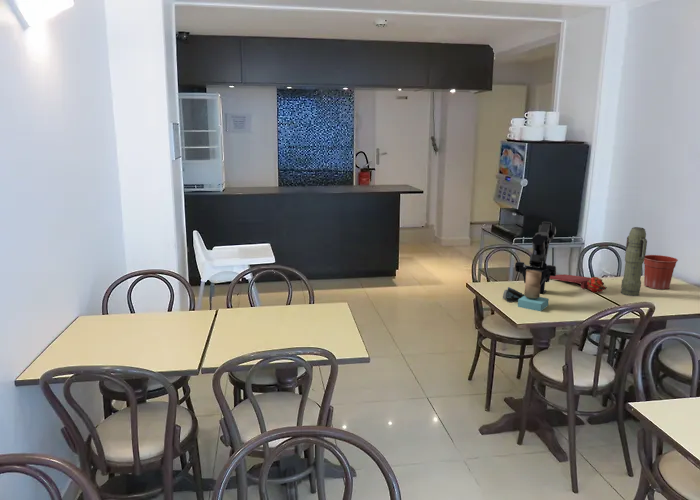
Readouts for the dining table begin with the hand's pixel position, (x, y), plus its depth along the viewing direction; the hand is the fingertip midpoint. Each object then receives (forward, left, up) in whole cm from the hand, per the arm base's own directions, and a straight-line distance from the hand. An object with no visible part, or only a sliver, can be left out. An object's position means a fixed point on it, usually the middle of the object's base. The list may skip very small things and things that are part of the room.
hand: (532, 283), depth 261 cm
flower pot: (-77, +43, -11) cm, 89 cm away
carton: (-57, +4, -12) cm, 58 cm away
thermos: (-53, +34, -11) cm, 64 cm away
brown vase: (-1, 0, -7) cm, 7 cm away
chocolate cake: (-5, -10, -12) cm, 17 cm away
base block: (0, +1, -12) cm, 12 cm away
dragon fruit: (-45, +19, -11) cm, 51 cm away
